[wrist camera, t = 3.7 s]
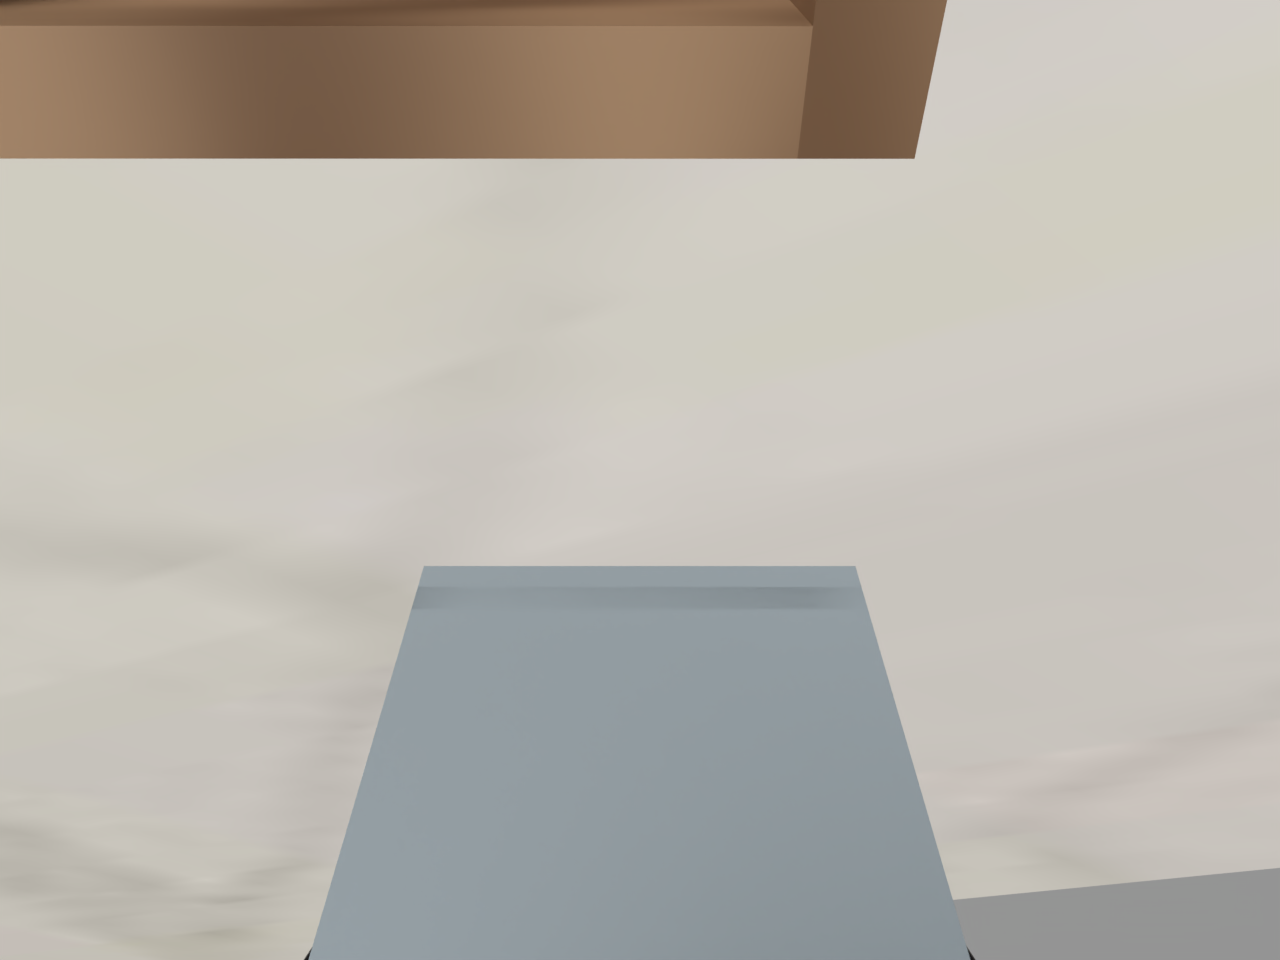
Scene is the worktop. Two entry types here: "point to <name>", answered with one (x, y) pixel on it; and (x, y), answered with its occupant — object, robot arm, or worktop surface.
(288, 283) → the worktop surface
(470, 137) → the wooden tray
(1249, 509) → the worktop surface
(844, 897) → the box
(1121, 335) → the worktop surface
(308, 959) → the robot arm
